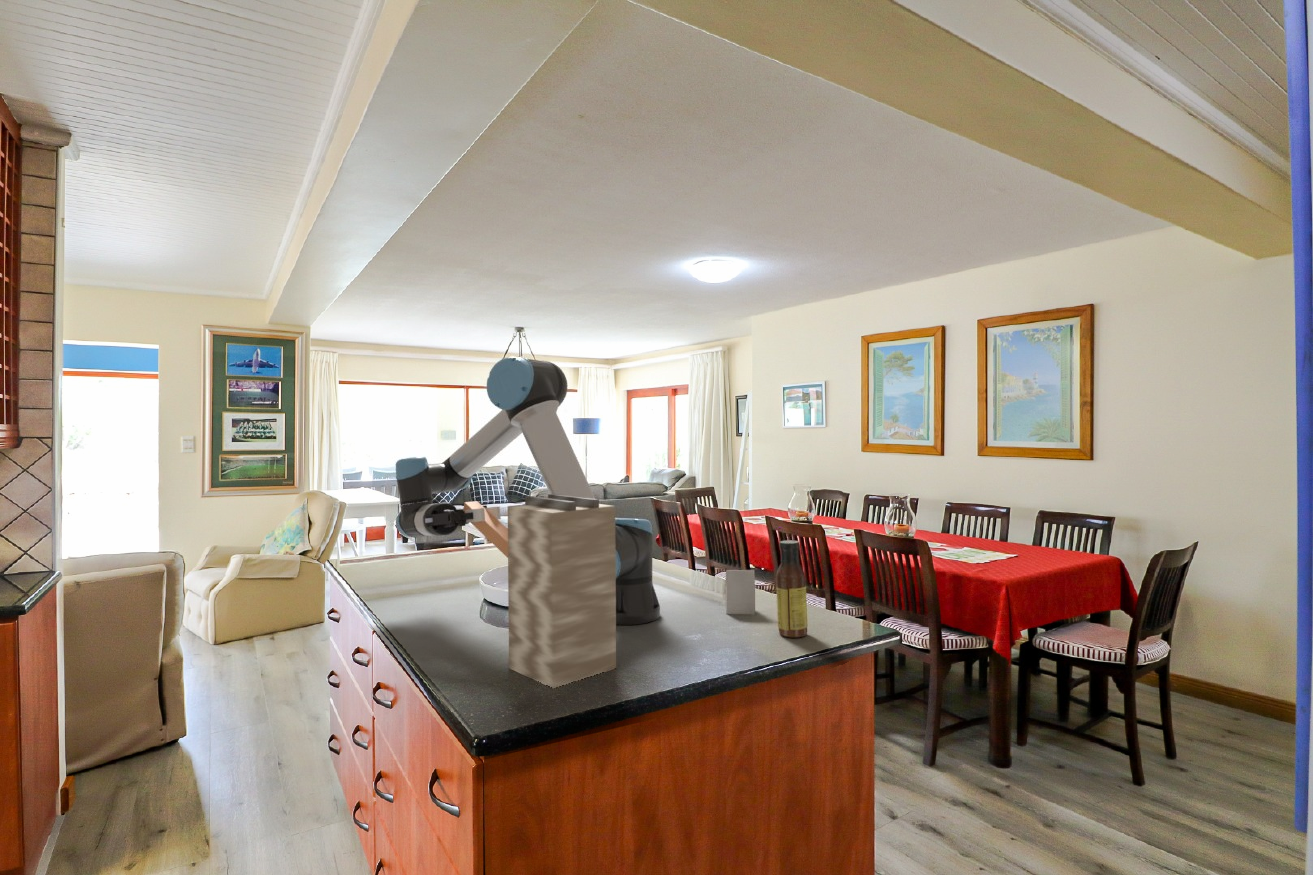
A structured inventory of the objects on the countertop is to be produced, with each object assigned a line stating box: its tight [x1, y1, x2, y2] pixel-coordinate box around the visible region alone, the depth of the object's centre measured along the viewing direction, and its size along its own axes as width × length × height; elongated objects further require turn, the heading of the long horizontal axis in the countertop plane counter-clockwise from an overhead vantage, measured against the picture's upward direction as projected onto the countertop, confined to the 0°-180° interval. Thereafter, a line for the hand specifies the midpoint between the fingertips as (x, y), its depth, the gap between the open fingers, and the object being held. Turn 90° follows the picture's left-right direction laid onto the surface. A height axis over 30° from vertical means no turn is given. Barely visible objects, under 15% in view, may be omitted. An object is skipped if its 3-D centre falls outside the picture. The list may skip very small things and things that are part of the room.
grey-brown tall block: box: [507, 493, 617, 690], centre depth 128 cm, size 14×14×32 cm
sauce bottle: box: [775, 539, 808, 639], centre depth 148 cm, size 7×6×20 cm
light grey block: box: [725, 569, 756, 615], centre depth 166 cm, size 4×7×10 cm, turn 88°
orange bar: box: [463, 500, 508, 559], centre depth 144 cm, size 26×3×3 cm, turn 45°
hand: (490, 513), depth 146 cm, fingers closed on orange bar, 3 cm apart
